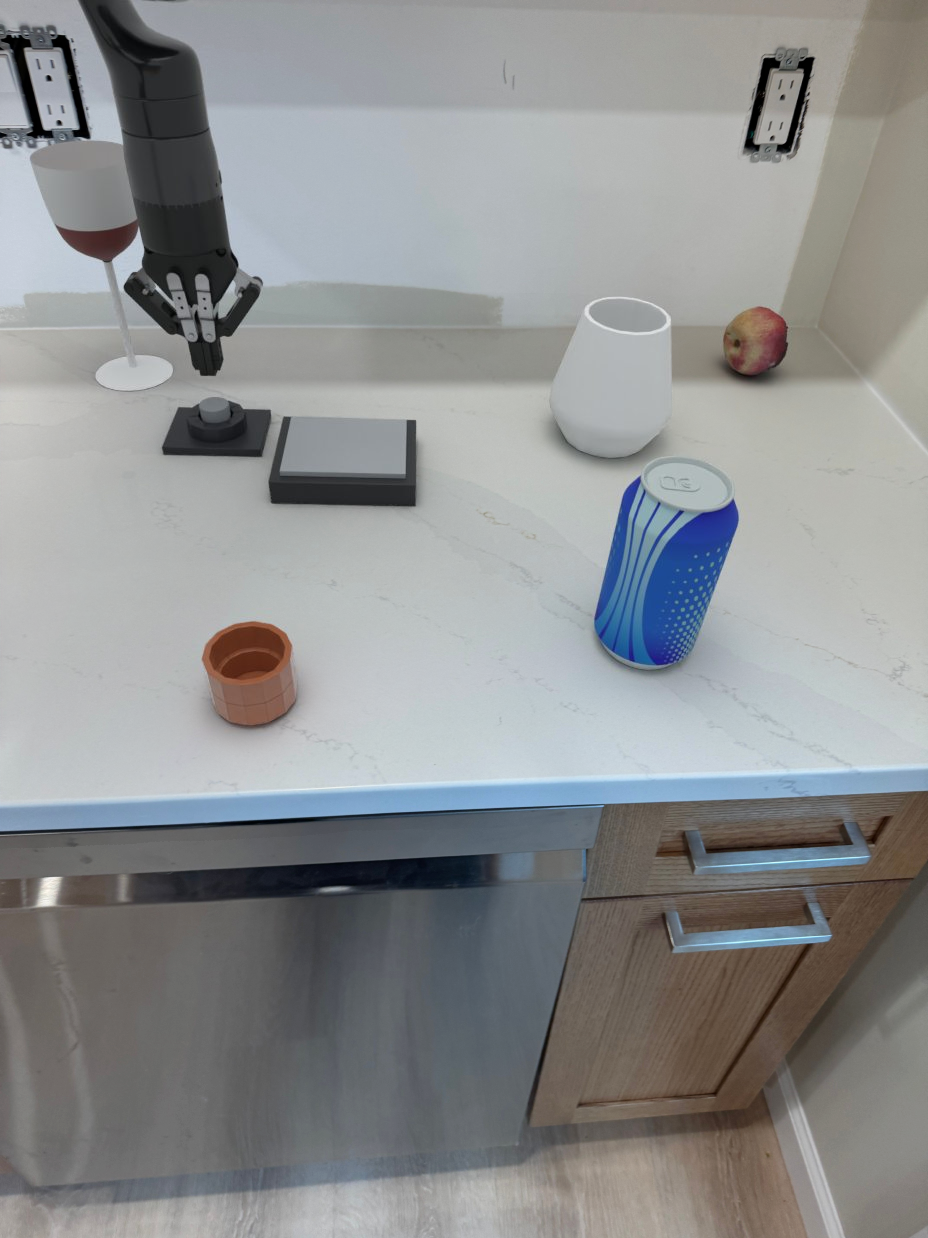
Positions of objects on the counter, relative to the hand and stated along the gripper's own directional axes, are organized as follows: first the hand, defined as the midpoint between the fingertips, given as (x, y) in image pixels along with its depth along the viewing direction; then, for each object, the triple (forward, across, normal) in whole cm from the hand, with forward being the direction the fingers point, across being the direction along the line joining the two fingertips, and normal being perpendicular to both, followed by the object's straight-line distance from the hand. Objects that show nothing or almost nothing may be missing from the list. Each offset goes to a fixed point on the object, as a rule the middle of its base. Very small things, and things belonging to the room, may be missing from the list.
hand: (210, 372), depth 83 cm
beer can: (+8, +40, -30) cm, 50 cm away
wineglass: (+7, -12, +13) cm, 19 cm away
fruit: (+8, +63, +18) cm, 66 cm away
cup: (+8, +42, +2) cm, 43 cm away
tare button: (+5, 0, 0) cm, 5 cm away
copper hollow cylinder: (+7, +9, -36) cm, 38 cm away
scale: (+7, +14, -6) cm, 17 cm away
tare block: (+7, 0, 0) cm, 7 cm away
